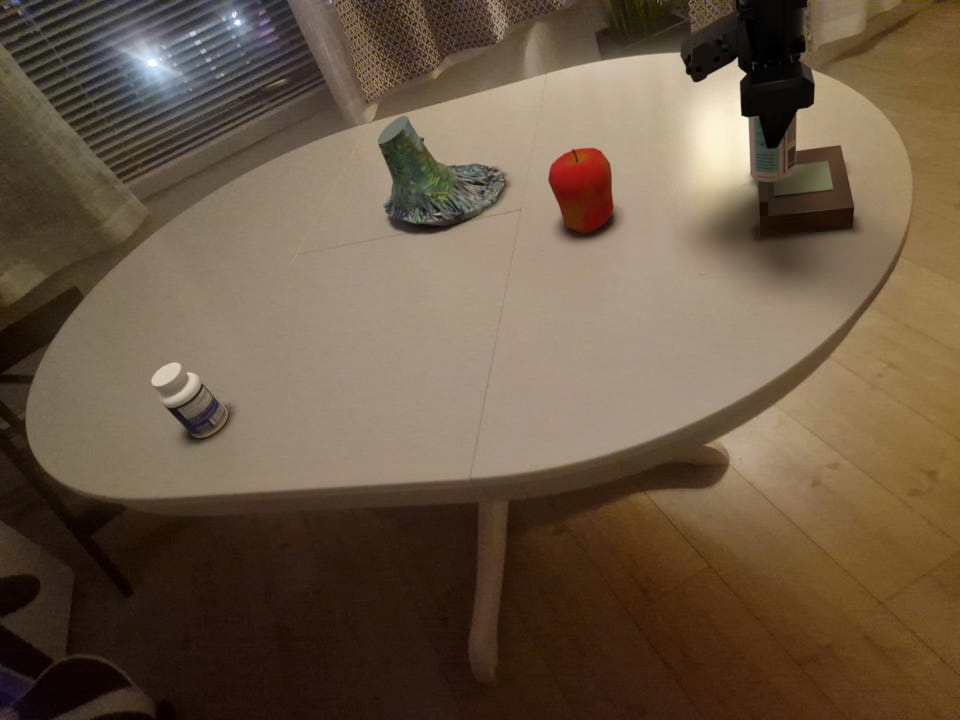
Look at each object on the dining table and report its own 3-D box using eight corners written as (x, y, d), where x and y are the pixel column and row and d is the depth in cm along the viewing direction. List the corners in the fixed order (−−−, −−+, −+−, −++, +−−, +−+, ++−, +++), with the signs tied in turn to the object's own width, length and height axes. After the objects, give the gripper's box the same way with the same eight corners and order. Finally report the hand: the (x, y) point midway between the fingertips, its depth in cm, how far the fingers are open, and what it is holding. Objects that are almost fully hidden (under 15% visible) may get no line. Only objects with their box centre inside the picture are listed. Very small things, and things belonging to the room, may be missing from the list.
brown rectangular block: (839, 165, 85) (841, 130, 82) (852, 228, 76) (856, 191, 72) (756, 175, 89) (755, 142, 85) (759, 237, 80) (759, 202, 76)
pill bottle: (189, 423, 88) (143, 374, 81) (224, 401, 89) (182, 351, 82) (195, 446, 84) (148, 397, 77) (233, 423, 85) (189, 372, 78)
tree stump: (519, 206, 102) (459, 115, 90) (415, 271, 107) (346, 192, 95) (496, 154, 115) (441, 68, 103) (405, 213, 120) (342, 138, 108)
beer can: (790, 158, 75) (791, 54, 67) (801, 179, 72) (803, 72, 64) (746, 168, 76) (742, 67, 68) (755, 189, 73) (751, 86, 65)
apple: (618, 236, 88) (604, 159, 80) (558, 245, 91) (538, 170, 83) (621, 201, 94) (608, 126, 86) (564, 210, 97) (546, 138, 89)
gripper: (684, -29, 70) (694, 109, 80) (678, 41, 57) (691, 192, 68) (799, -57, 65) (794, 91, 76) (819, 11, 53) (810, 177, 64)
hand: (770, 135), depth 71 cm, fingers closed on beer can, 5 cm apart
